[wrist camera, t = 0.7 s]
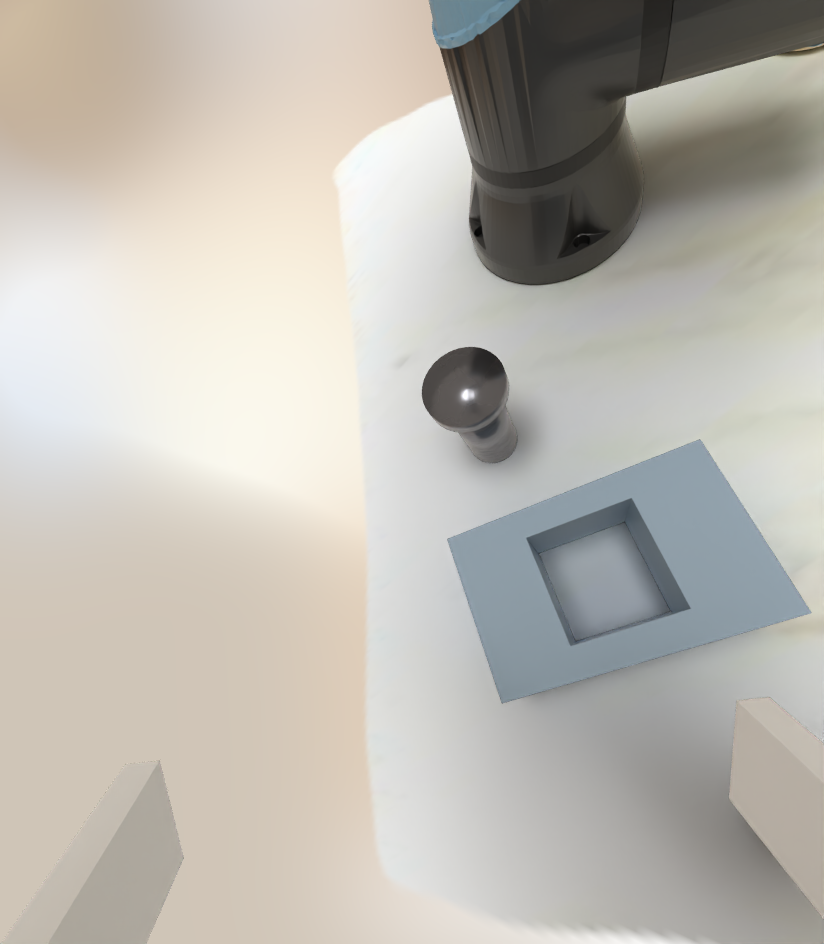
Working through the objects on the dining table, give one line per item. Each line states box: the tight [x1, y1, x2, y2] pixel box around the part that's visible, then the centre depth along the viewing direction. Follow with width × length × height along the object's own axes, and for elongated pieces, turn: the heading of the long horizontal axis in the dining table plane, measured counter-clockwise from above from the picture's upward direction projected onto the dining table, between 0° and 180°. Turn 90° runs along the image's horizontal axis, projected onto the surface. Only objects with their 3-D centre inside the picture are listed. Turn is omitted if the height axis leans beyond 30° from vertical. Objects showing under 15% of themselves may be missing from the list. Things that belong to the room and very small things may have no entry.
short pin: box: [422, 347, 518, 463], centre depth 33 cm, size 6×6×10 cm
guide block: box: [447, 439, 811, 703], centre depth 29 cm, size 16×10×7 cm, turn 107°
